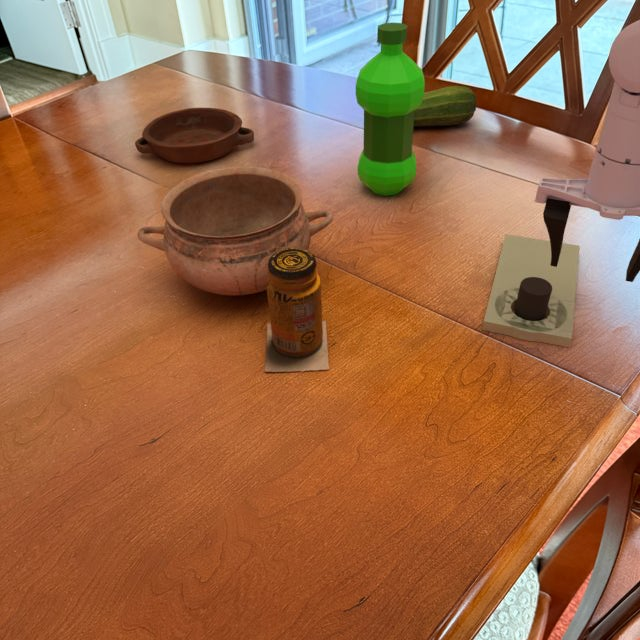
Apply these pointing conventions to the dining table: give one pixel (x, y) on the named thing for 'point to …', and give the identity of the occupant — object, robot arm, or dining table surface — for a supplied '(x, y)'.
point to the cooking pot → (232, 227)
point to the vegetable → (445, 107)
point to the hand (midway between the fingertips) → (591, 268)
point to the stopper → (533, 299)
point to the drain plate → (534, 261)
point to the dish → (194, 135)
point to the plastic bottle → (389, 113)
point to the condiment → (295, 314)
